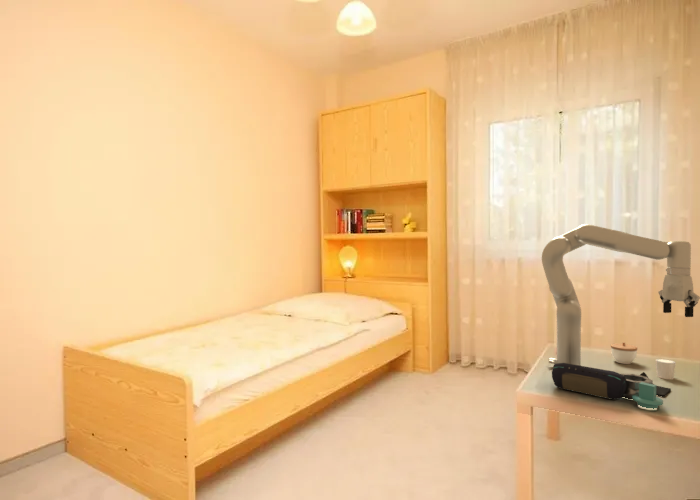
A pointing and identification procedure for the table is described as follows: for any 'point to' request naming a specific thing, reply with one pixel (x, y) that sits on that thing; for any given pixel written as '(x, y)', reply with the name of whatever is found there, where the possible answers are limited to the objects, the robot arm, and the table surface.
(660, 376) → the beige cup
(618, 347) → the lidded jar
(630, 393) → the octagonal studded bezel
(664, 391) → the handheld gaming console
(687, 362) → the table surface
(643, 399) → the teal disc with handle
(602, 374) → the portable speaker
